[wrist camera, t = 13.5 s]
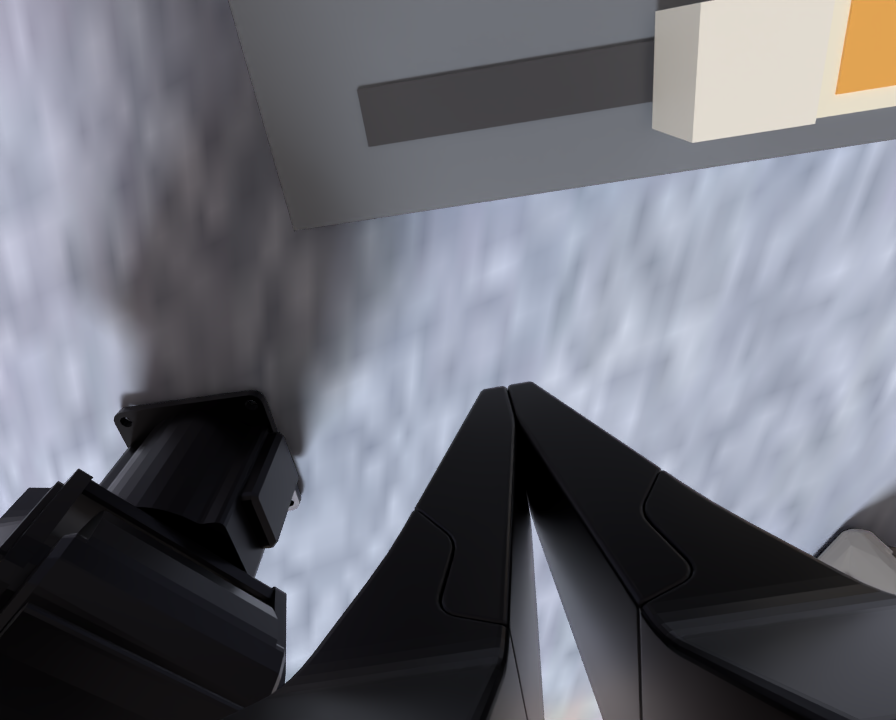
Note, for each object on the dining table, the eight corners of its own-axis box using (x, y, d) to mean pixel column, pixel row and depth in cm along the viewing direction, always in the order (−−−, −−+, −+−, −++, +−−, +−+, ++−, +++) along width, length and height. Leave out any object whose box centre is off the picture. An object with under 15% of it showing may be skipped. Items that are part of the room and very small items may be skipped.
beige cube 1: (651, 128, 17) (692, 142, 14) (655, 11, 15) (700, 2, 12) (754, 112, 16) (815, 123, 14) (768, -8, 15) (838, -21, 12)
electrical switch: (847, 517, 28) (1033, 712, 20) (920, 533, 29) (1122, 722, 21) (740, 629, 32) (858, 827, 24) (808, 639, 33) (941, 829, 26)
